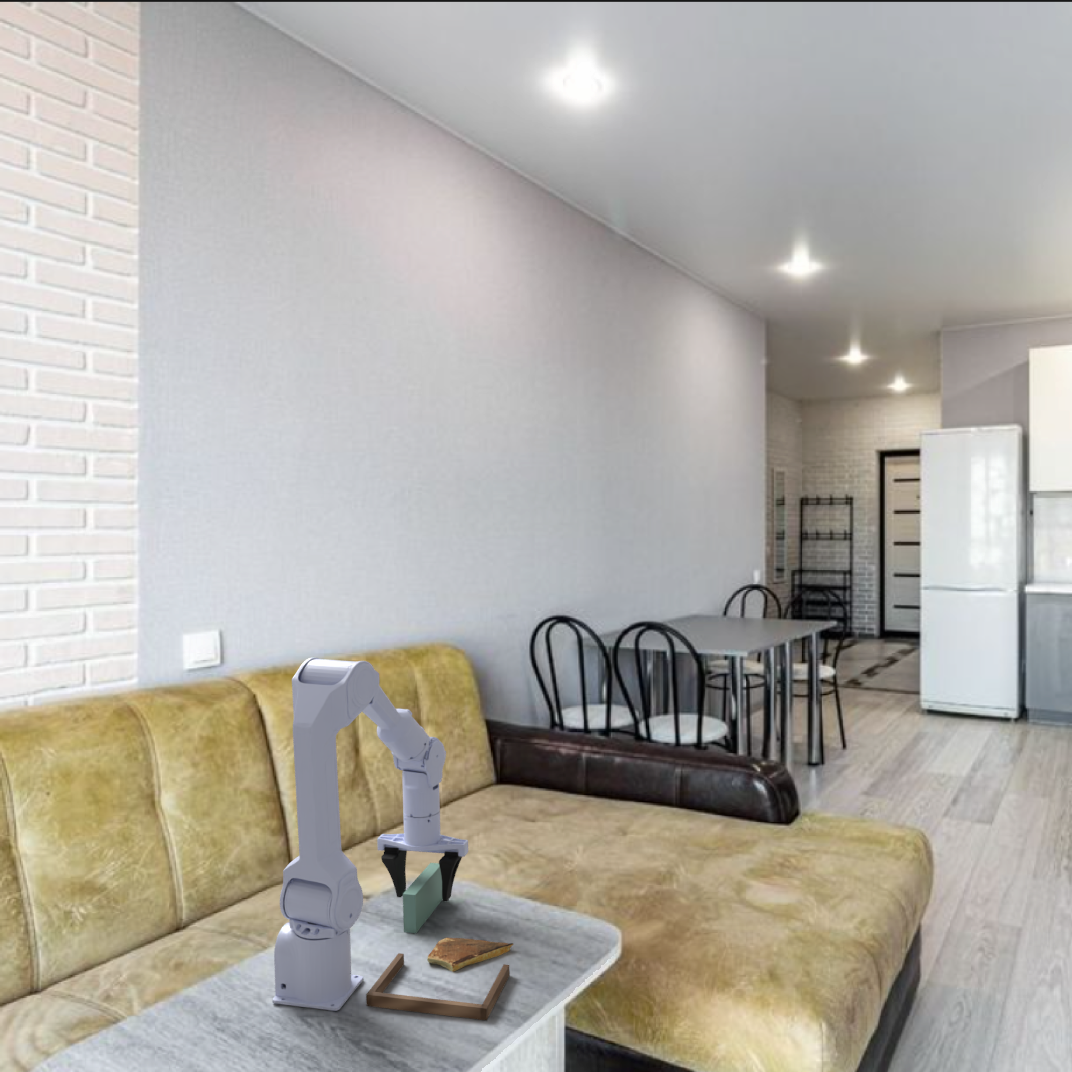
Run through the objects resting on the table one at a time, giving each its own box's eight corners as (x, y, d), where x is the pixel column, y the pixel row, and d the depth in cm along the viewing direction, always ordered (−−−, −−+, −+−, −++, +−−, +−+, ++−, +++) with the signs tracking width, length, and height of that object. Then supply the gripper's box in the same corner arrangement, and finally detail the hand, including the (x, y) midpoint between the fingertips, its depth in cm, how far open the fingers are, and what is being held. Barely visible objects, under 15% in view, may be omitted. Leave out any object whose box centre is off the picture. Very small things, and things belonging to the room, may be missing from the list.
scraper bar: (416, 934, 134) (415, 894, 133) (403, 932, 134) (402, 893, 134) (443, 899, 145) (442, 863, 145) (431, 898, 146) (430, 862, 146)
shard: (513, 953, 128) (513, 940, 128) (499, 981, 121) (498, 968, 121) (442, 945, 131) (442, 933, 131) (424, 972, 123) (423, 960, 123)
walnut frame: (366, 1005, 114) (366, 994, 114) (398, 963, 125) (398, 953, 125) (486, 1020, 110) (486, 1008, 110) (509, 975, 121) (509, 964, 121)
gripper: (473, 805, 141) (475, 889, 142) (388, 800, 145) (391, 882, 145) (459, 821, 135) (461, 909, 135) (370, 815, 138) (373, 901, 138)
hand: (423, 896), depth 140 cm, fingers open, 7 cm apart
